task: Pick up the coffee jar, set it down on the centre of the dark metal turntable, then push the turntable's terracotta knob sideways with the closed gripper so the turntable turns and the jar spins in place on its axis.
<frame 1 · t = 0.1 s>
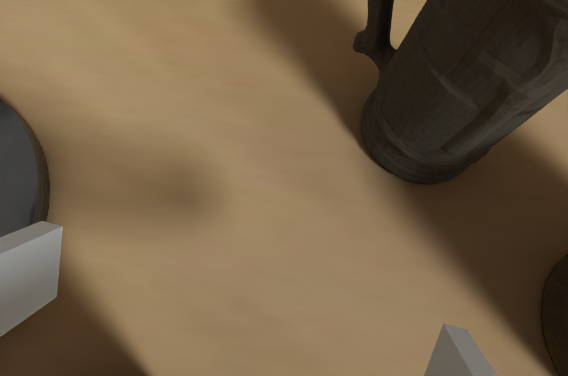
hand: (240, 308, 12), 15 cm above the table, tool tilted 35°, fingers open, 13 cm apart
beer stein: (400, 124, 34), on the table
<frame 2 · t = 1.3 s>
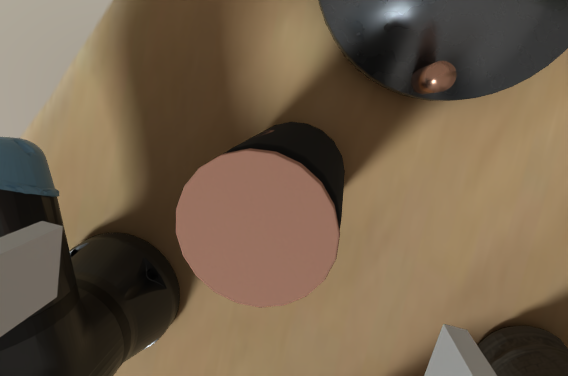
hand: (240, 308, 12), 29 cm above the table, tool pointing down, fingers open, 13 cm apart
coffee jar: (295, 169, 40), on the table
beer stein: (525, 351, 42), on the table
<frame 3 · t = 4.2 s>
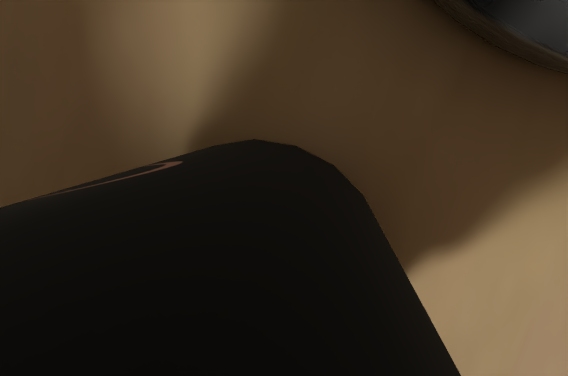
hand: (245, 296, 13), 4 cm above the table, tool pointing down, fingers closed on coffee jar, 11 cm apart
coffee jar: (262, 252, 17), on the table, touching gripper
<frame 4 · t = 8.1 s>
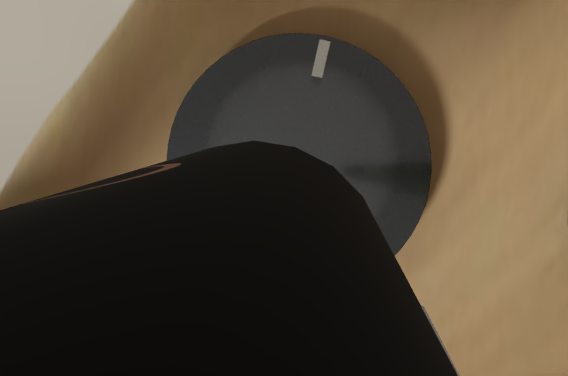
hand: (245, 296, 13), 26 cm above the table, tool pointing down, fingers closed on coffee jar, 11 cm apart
coffee jar: (262, 253, 17), point 22 cm above the table, touching gripper
turntable: (293, 177, 34), point 4 cm above the table, hinge at 0.0°
when the fingers open (8 cm above the table, at t = 12.1 s): coffee jar drops 1 cm, resting on turntable.
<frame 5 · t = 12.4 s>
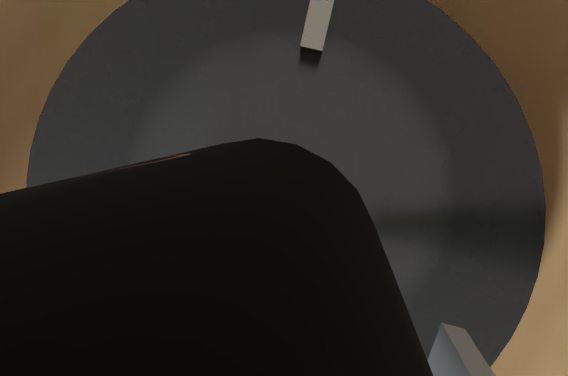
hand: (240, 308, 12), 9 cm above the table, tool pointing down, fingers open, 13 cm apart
coffee jar: (266, 243, 18), point 3 cm above the table, touching turntable
turntable: (262, 254, 17), point 5 cm above the table, hinge at 0.0°, touching coffee jar
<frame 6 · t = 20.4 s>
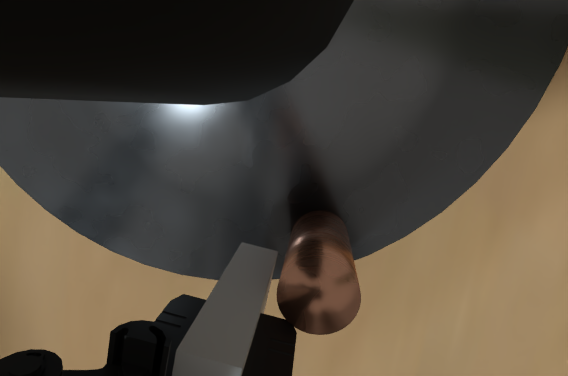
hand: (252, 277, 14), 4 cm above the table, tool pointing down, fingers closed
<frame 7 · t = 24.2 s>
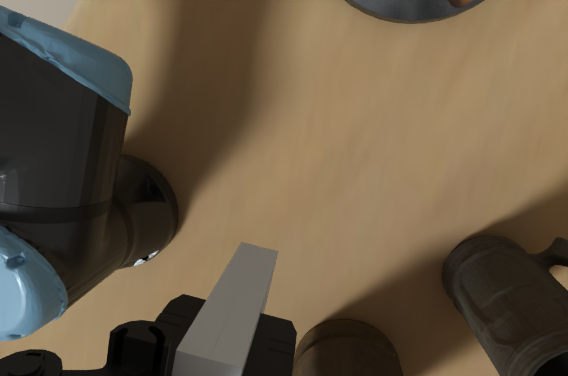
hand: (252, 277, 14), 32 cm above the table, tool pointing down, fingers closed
wooden container: (345, 364, 52), on the table
beer stein: (492, 263, 46), on the table
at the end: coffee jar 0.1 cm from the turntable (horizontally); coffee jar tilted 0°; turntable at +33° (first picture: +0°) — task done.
